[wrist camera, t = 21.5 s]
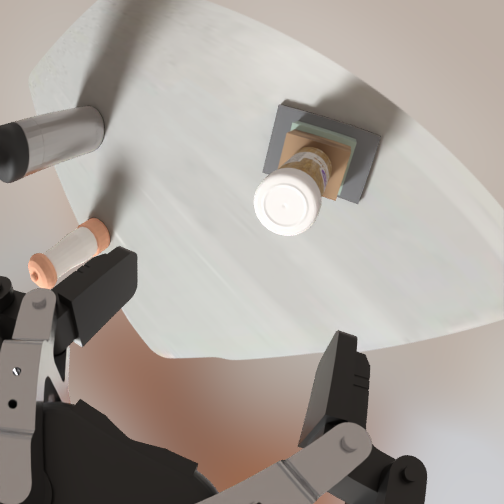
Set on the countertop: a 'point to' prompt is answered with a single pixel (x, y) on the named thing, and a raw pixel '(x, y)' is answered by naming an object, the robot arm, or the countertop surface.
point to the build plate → (335, 125)
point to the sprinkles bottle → (293, 192)
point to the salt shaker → (69, 253)
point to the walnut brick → (331, 148)
